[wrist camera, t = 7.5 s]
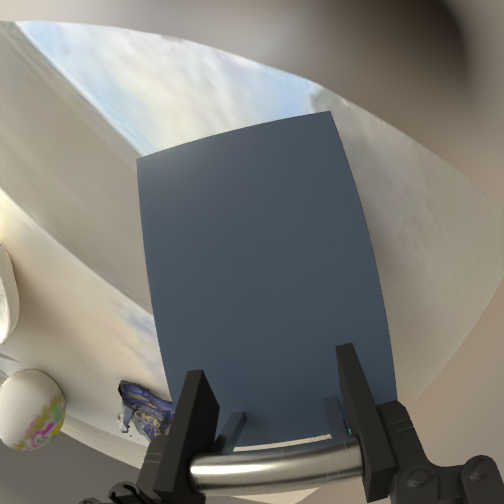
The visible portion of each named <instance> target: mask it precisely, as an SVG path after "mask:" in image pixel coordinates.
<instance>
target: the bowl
mask: <svg viewBox="0 0 504 504" xmlns="http://www.w3.org/2000/svg"><path fill="white" fill-rule="evenodd" d="M19 312H20V305H19V295H18V289H17V284H16V281H15V277H14V271H13V266H12V263H11V260H10V257H9V255H8V253H7V251H6V249H5V247H4V246H3V244H2V243H1V242H0V345H1V344H4V343H5V341H6V340H7V339H8V338H9V337H10V336H11V334H12V333H13V331H14V329H15V327H16V325H17V322H18V320H19Z"/></svg>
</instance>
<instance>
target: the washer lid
mask: <svg viewBox="0 0 504 504" xmlns="http://www.w3.org/2000/svg"><path fill="white" fill-rule="evenodd" d="M137 176H138V191H139V205H140V216H141V226H142V236H143V245H144V253H145V261H146V269H147V276H148V283H149V290H150V296H151V303H152V309H153V315H154V320H155V326H156V331H157V336H158V342H159V347H160V352H161V356H162V361H163V366H164V370H165V375H166V379H167V383H168V388H169V392H170V396H171V400H172V404H173V408H174V412H175V410H176V407H177V403H178V400H179V397H180V394H181V390H182V387H183V384H184V381H185V378H186V374H187V371H191V370H200V369H203V371H204V373H205V376H206V378H207V380H208V382H209V385H210V387H211V389H212V391H213V393H214V395H215V398H216V400H217V402H218V404H219V406H220V411H219V417H218V423H217V430H216V436H215V442H214V444H213V445H212V447H211V448H210V450H209V452H208V453H195V454H193V455H192V456H191V457H190V459H189V462H188V467H187V477H188V483H189V486H190V488H191V490H192V492H193V493H194V494H195V495H198V496H242V495H260V494H272V493H282V492H290V491H298V490H305V489H311V488H318V487H323V486H329V485H334V484H338V483H343V482H348V481H352V480H356V479H361V478H363V477H364V475H365V464H364V457H363V451H362V446H361V442H360V439H359V437H358V435H357V434H356V433H353V434H350V433H349V431H348V430H349V429H350V425H349V421H348V417H347V413H346V409H345V405H344V402H343V398H342V394H341V390H340V383H339V373H338V364H337V355H336V347H335V346H338V345H343V344H347V343H351V342H352V343H353V346H354V348H355V351H356V354H357V356H358V359H359V361H360V364H361V367H362V369H363V372H364V375H365V377H366V380H367V383H368V385H369V388H370V391H371V393H372V396H373V399H374V402H375V405H376V406H377V405H380V404H384V403H387V402H391V401H394V400H397V390H396V380H395V372H394V363H393V356H392V349H391V342H390V335H389V329H388V323H387V317H386V311H385V306H384V300H383V295H382V290H381V285H380V280H379V275H378V271H377V266H376V262H375V257H374V253H373V249H372V245H371V241H370V237H369V233H368V229H367V225H366V221H365V217H364V214H363V210H362V206H361V203H360V199H359V196H358V192H357V189H356V186H355V182H354V179H353V176H352V173H351V170H350V166H349V163H348V160H347V157H346V154H345V151H344V148H343V145H342V142H341V139H340V137H339V134H338V131H337V128H336V125H335V123H334V120H333V117H332V115H331V112H330V111H326V112H320V113H314V114H308V115H302V116H297V117H291V118H286V119H281V120H276V121H272V122H267V123H262V124H258V125H253V126H249V127H245V128H241V129H237V130H232V131H228V132H225V133H221V134H217V135H213V136H209V137H206V138H202V139H199V140H195V141H192V142H188V143H185V144H182V145H178V146H175V147H172V148H169V149H166V150H162V151H159V152H156V153H153V154H150V155H147V156H144V157H141V158H139V159H137ZM397 401H398V400H397ZM327 434H330V435H331V439H326V440H321V441H316V442H310V443H304V444H298V445H292V446H285V447H278V448H270V449H261V450H251V451H238V452H233V450H234V448H235V447H243V446H254V445H263V444H271V443H279V442H286V441H293V440H299V439H305V438H311V437H316V436H322V435H327Z"/></svg>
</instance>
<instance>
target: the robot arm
mask: <svg viewBox="0 0 504 504" xmlns="http://www.w3.org/2000/svg"><path fill="white" fill-rule="evenodd" d="M335 347H336V355H337V364H338V373H339V383H340V390H341V394H342V398H343V402H344V405H345V409H346V413H347V417H348V421H349V425H350V429H351V433H352V434H353V433H356V434H357V435H358V437H359V439H360V442H361V446H362V451H363V457H364V464H365V475H364V477H363V478H362V481H363V486H364V490H365V494H366V500H367V503H370V502H373V501H377V500H380V499H384V498H388V494H389V496H390V500H391V504H504V484H503V481H502V478H501V476H500V473H499V470H498V468H497V465H496V463H495V462H494V460H493V459H492V458H490V457H488V456H485V455H479V456H475V457H473V458H471V459H469V460H468V461H467V462H466V463H465V464H464V465H457V466H449V467H440V466H436V465H434V464H432V463H431V462H430V461H429V460H428V459H427V457H426V455H425V453H424V450H423V448H422V445H421V443H420V440H419V438H418V436H417V433H416V431H415V428H414V427H413V424H412V421H411V420H410V417H409V414H408V412H407V410H406V408H405V407H404V406H403V405H402V404H401V403H400V402H399V401H397V400H394V401H391V402H387V403H384V404H380V405H377V406H376V405H375V402H374V399H373V396H372V393H371V391H370V388H369V385H368V383H367V380H366V377H365V375H364V372H363V369H362V367H361V364H360V361H359V359H358V356H357V354H356V351H355V348H354V346H353V343H352V342H351V343H347V344H343V345H338V346H335ZM219 411H220V406H219V404H218V402H217V400H216V398H215V395H214V393H213V391H212V389H211V387H210V385H209V382H208V380H207V378H206V376H205V373H204V371H203V369H200V370H191V371H187V374H186V378H185V381H184V384H183V387H182V390H181V394H180V397H179V400H178V403H177V407H176V410H175V413H174V417H173V420H172V423H171V427H170V430H169V433H168V435H156V436H155V438H154V439H153V440H152V441H151V442H150V444H149V447H148V450H147V453H146V454H147V455H146V456H145V459H144V463H143V465H142V468H141V471H140V474H139V477H138V480H137V483H136V485H135V484H134V483H131V482H121V483H118V484H116V485H115V486H113V487H112V489H111V490H110V491H109V495H108V498H110V499H111V500H112V501H113V502H112V503H103V504H205V500H206V496H198V495H195V494H194V493H193V492H192V490H191V488H190V486H189V483H188V477H187V467H188V462H189V459H190V457H191V456H192V455H193V454H195V453H208V452H209V450H210V448H211V447H212V445H213V444H214V442H215V436H216V430H217V423H218V417H219ZM79 504H102V503H101V502H100V501H99V500H97V499H94V498H87V499H84V500H82V501H81V502H80V503H79Z"/></svg>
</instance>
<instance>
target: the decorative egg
mask: <svg viewBox="0 0 504 504" xmlns="http://www.w3.org/2000/svg"><path fill="white" fill-rule="evenodd" d="M65 411H66V407H65V399H64V395H63V393H62V391H61V389H60V388H59V386H58V385H57V384H56V383H55V382H54V381H53V380H52V379H51V378H50V377H49V376H47V375H46V374H44V373H43V372H41V371H38V370H35V369H26V370H21V371H18V372H16V373H14V374H13V375H11V376H10V377H9V378H8V379H7V380H6V381H5V382H4V383H3V385H2V386H1V388H0V438H1V440H2V441H3V442H4V443H5V444H6V445H7V446H9V447H10V448H12V449H15V450H18V451H30V450H35V449H38V448H40V447H42V446H44V445H46V444H47V443H48V442H50V441H51V440H52V439H53V438H54V437H55V436H56V435H57V433H58V432H59V430H60V429H61V427H62V424H63V422H64V418H65Z"/></svg>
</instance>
